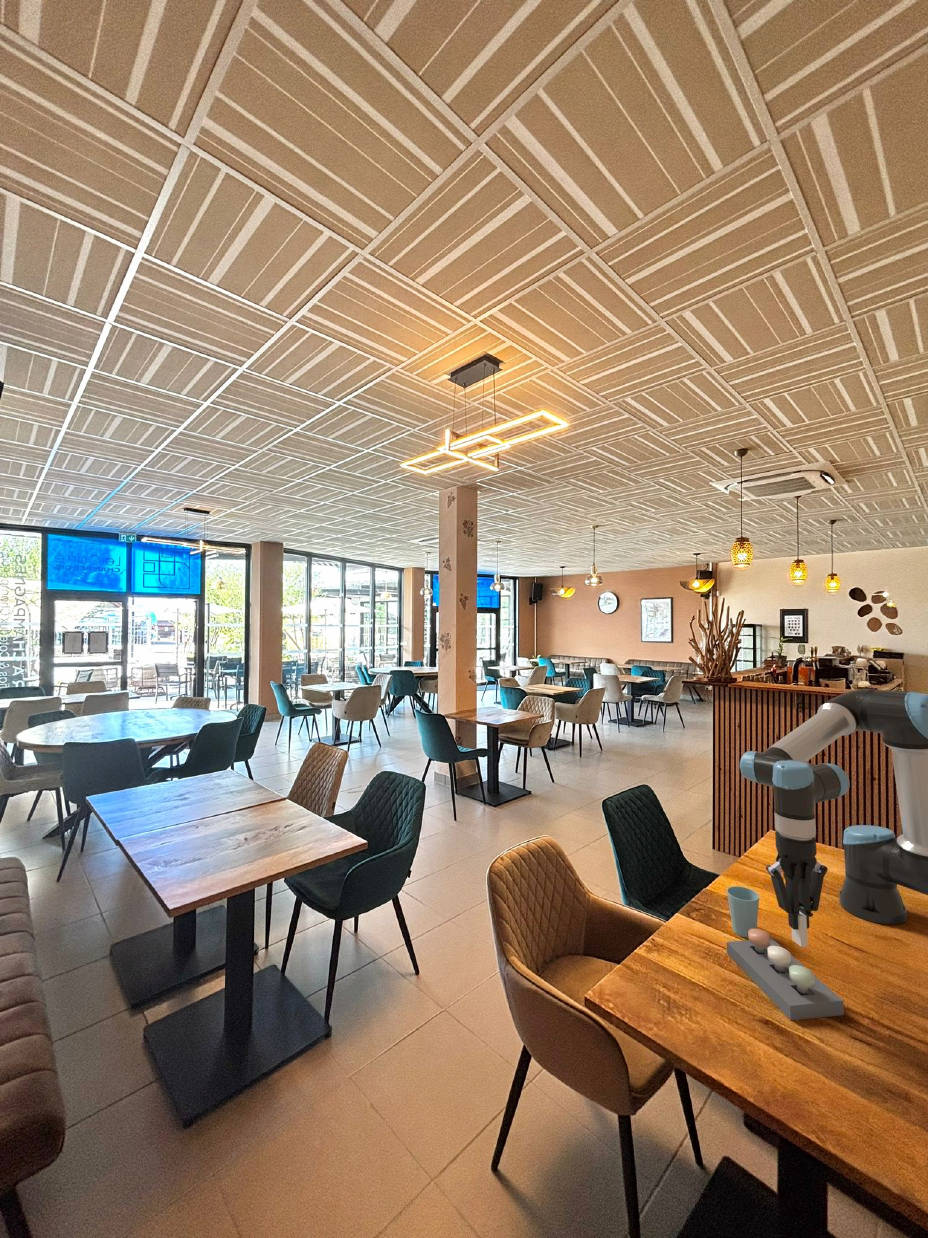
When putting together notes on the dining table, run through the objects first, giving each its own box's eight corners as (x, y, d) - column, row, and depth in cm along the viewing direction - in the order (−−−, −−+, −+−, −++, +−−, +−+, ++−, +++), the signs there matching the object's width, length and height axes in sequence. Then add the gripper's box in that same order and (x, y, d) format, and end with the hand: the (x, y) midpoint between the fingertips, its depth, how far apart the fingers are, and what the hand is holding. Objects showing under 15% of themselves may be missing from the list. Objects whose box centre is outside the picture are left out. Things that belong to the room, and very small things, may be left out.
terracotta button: (762, 944, 127) (761, 928, 127) (775, 955, 122) (774, 939, 122) (744, 945, 126) (744, 929, 126) (757, 957, 122) (756, 940, 122)
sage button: (804, 982, 113) (803, 964, 113) (820, 997, 108) (819, 978, 108) (785, 984, 112) (784, 966, 112) (800, 999, 108) (799, 980, 108)
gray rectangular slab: (771, 950, 129) (771, 938, 129) (844, 1015, 107) (843, 1000, 107) (727, 954, 128) (726, 942, 128) (790, 1020, 106) (789, 1006, 106)
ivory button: (782, 962, 120) (781, 945, 120) (796, 975, 115) (795, 957, 115) (763, 964, 119) (762, 946, 119) (777, 977, 115) (776, 959, 115)
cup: (767, 936, 134) (765, 896, 135) (748, 944, 131) (746, 903, 132) (741, 921, 141) (740, 883, 142) (722, 929, 138) (720, 890, 139)
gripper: (809, 825, 115) (814, 930, 115) (755, 829, 114) (760, 935, 114) (836, 839, 108) (841, 951, 107) (779, 842, 107) (783, 956, 106)
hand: (799, 943), depth 110 cm, fingers closed
